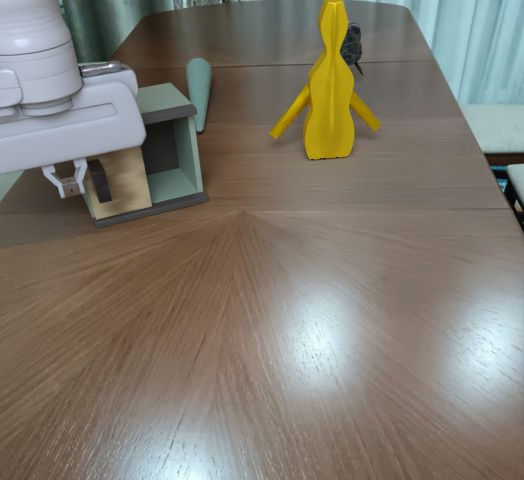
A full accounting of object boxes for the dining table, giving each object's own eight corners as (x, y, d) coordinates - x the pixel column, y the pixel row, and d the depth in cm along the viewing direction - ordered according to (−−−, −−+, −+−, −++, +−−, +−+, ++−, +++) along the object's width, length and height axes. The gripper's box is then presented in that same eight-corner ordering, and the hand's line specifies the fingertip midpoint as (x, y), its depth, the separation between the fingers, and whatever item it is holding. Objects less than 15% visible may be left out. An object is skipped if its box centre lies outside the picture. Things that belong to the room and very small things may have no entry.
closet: (96, 228, 77) (70, 132, 69) (81, 192, 86) (56, 103, 77) (208, 201, 81) (196, 108, 73) (183, 169, 90) (170, 82, 81)
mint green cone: (180, 104, 96) (183, 58, 116) (184, 136, 100) (187, 87, 120) (212, 101, 97) (210, 56, 116) (215, 133, 100) (213, 85, 120)
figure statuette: (376, 140, 94) (389, -16, 80) (387, 160, 89) (404, -4, 74) (268, 149, 94) (262, -6, 79) (273, 169, 88) (267, 6, 73)
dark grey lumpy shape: (363, 96, 111) (371, -27, 97) (305, 96, 112) (305, -24, 99) (363, 82, 117) (370, -35, 103) (307, 83, 118) (307, -32, 105)
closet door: (101, 233, 74) (79, 150, 67) (95, 217, 78) (73, 136, 70) (159, 219, 76) (144, 137, 69) (150, 204, 80) (135, 124, 72)
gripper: (126, 50, 66) (148, 166, 75) (-64, 82, 60) (-15, 202, 70) (139, 64, 61) (161, 185, 70) (-65, 99, 56) (-12, 225, 65)
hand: (72, 194), depth 70 cm, fingers closed
